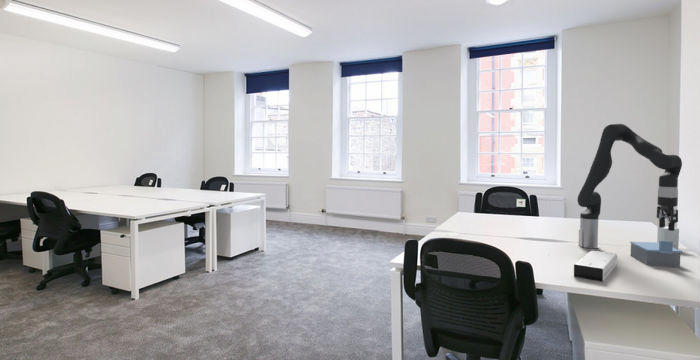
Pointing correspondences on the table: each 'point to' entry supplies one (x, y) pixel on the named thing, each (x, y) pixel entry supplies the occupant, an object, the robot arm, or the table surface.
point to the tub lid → (657, 246)
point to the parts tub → (655, 257)
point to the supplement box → (668, 236)
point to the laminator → (595, 265)
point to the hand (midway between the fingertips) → (666, 229)
